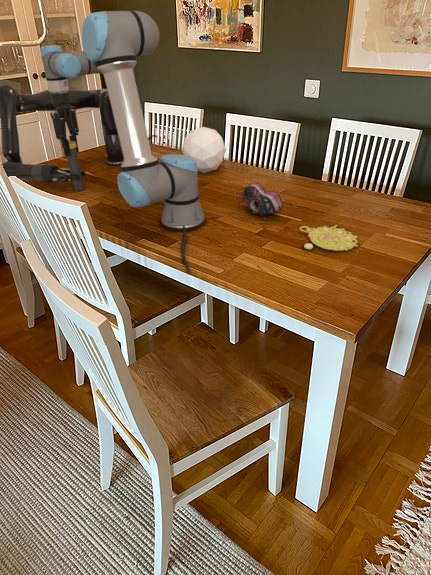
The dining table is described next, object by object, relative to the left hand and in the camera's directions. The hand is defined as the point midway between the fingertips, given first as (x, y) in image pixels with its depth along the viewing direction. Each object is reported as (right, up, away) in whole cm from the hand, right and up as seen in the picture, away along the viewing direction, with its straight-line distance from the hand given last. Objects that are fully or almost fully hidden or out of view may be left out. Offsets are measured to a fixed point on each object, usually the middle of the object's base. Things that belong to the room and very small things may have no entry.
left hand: (82, 175), depth 184 cm
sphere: (+51, +7, +20) cm, 55 cm away
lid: (-3, +11, -6) cm, 13 cm away
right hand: (-3, +8, -4) cm, 9 cm away
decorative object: (+92, -31, -42) cm, 105 cm away
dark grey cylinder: (-2, -5, +4) cm, 7 cm away
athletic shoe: (+71, -18, -21) cm, 76 cm away
